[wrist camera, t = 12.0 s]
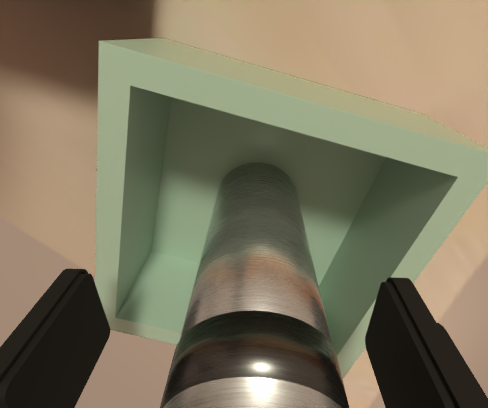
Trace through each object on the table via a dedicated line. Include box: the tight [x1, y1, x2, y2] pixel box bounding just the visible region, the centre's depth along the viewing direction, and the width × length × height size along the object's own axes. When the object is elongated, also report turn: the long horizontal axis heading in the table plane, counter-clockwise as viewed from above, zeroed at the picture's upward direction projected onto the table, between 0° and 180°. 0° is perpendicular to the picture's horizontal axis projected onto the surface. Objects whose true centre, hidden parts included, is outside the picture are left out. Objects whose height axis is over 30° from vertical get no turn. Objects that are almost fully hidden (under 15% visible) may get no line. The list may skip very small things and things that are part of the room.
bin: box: [95, 38, 488, 379], centre depth 15 cm, size 13×13×6 cm
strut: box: [160, 162, 349, 408], centre depth 12 cm, size 4×4×12 cm
